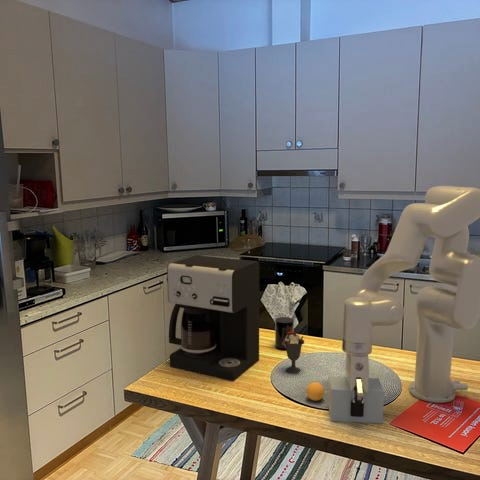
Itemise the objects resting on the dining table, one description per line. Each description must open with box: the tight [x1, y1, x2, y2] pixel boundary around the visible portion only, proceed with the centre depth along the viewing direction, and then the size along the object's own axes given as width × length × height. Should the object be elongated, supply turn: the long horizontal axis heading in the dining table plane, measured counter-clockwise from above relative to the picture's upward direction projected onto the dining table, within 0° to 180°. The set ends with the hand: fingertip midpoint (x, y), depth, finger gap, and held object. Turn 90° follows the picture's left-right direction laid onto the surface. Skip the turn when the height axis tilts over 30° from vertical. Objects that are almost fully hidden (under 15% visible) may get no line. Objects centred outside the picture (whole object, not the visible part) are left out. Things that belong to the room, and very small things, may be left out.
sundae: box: [283, 326, 305, 374], centre depth 156 cm, size 7×7×15 cm
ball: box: [305, 381, 325, 402], centre depth 137 cm, size 5×5×5 cm
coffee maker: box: [166, 254, 260, 382], centre depth 161 cm, size 28×20×35 cm
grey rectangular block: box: [327, 376, 385, 424], centre depth 128 cm, size 13×8×9 cm, turn 84°
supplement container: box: [274, 316, 295, 351], centre depth 176 cm, size 7×7×10 cm
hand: (354, 407), depth 129 cm, fingers open, 8 cm apart
